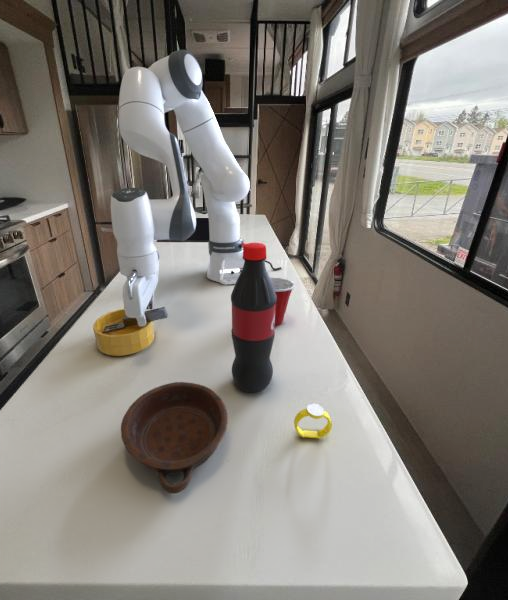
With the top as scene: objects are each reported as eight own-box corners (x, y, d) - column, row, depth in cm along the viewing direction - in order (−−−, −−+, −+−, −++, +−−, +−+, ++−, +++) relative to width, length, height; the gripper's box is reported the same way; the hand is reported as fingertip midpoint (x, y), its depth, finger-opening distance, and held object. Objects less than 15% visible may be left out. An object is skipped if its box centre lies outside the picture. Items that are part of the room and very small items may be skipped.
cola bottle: (275, 374, 71) (283, 239, 57) (267, 400, 63) (274, 253, 50) (238, 366, 73) (238, 236, 60) (226, 391, 66) (223, 249, 53)
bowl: (159, 326, 90) (156, 307, 88) (148, 357, 77) (145, 335, 75) (108, 327, 90) (104, 308, 88) (89, 358, 77) (84, 337, 75)
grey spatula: (168, 313, 82) (165, 305, 81) (166, 319, 79) (163, 310, 78) (106, 327, 84) (102, 320, 83) (102, 333, 81) (98, 326, 80)
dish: (111, 507, 45) (105, 484, 43) (136, 397, 65) (132, 377, 63) (235, 495, 46) (235, 472, 44) (222, 390, 66) (222, 371, 64)
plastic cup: (296, 316, 94) (299, 277, 89) (286, 334, 85) (289, 292, 80) (260, 309, 98) (261, 272, 93) (247, 326, 89) (248, 286, 84)
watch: (294, 441, 55) (297, 415, 52) (292, 428, 57) (294, 402, 54) (330, 442, 54) (335, 416, 52) (326, 429, 57) (330, 403, 54)
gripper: (142, 280, 65) (150, 338, 71) (160, 250, 84) (165, 298, 90) (111, 280, 65) (122, 339, 71) (135, 250, 84) (142, 298, 90)
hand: (146, 316), depth 81 cm, fingers open, 7 cm apart
